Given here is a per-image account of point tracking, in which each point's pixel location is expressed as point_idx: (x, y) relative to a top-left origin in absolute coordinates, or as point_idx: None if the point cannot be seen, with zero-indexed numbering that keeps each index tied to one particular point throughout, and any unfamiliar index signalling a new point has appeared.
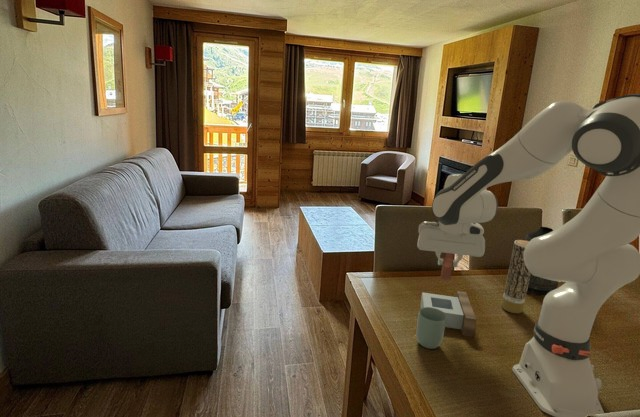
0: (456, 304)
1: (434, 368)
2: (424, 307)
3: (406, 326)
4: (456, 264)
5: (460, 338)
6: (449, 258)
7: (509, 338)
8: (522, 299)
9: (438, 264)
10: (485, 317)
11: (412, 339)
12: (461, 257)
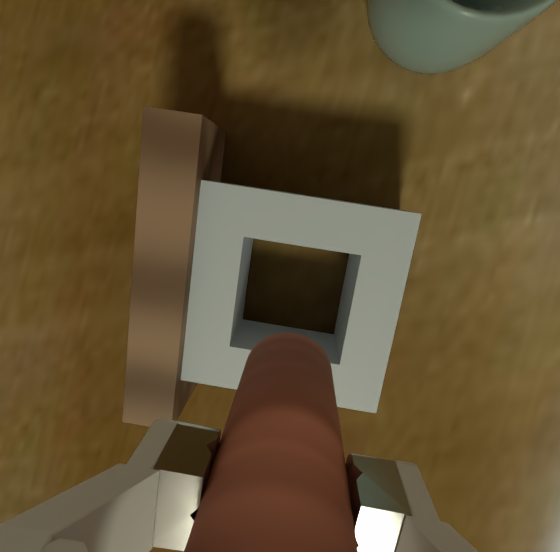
0: (210, 298)
1: None
2: (540, 7)
3: (490, 169)
4: (159, 439)
5: (245, 100)
6: (276, 518)
7: (16, 137)
8: None
9: (413, 463)
10: (78, 303)
11: (492, 51)
12: (12, 534)
